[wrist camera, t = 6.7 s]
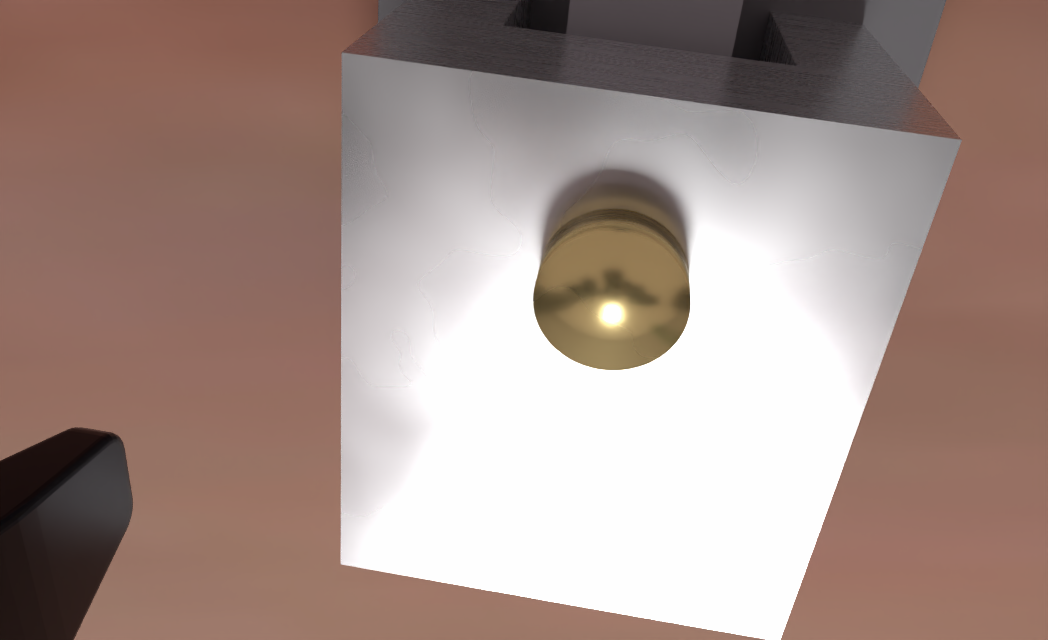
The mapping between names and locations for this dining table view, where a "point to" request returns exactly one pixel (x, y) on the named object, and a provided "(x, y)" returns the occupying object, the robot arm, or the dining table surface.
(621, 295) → the lock block
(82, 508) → the robot arm
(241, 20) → the dining table surface
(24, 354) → the dining table surface
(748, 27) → the hitch plate
